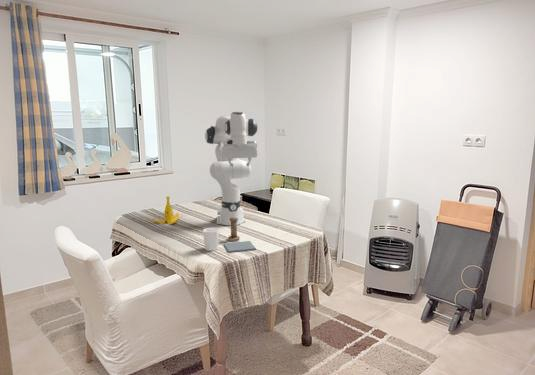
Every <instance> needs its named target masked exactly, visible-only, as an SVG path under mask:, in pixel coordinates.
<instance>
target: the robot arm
mask: <svg viewBox="0 0 535 375" xmlns="http://www.w3.org/2000/svg"><path fill="white" fill-rule="evenodd" d="M256 133H258V123H257V121H256V120H255V119H253V118H246V114H245V112H243V111H242V112H241V111H233V112H232V111H231V113H230V116H229V115H221V116H219V117H218V118H216V121H215V126H213V125H211V126H210V127H209V128H207V129H206V130H205V133H204V139H205V141H206V143H207V144H210V145H216V147H215V149H214V151H215V152H214V154H215V158H216V160H217V161H216V162H212V163H211V165H210V166H209V173H210V176H211V177H212V178H213V180H216V182H217V183H218V184H219V186H220V188H221V197H222V200H221V207H220V209H219V210H218V211H217V216H216V225H223V226H231V221H230V218H232V217H236V218H238V221H237V226H238V225H242V224H243V223H246V222H247V220H246V219H245V218H244V217H245V216H244V208H242V200H241V189H240V187H239V186H238V185H236V184H235V183H232V182H231V180H232V179H236V180H237V179H244V178H247V177H249V176H251V173H252V166H251V161H252V158H254V159H255V158H257V157H258V150H257V148H258V143H257V141H254V140H251V141H249V140H248V137H254V136H255V135H256ZM242 159H247V160H248V161H246V160H242Z"/></svg>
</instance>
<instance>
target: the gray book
mask: <svg viewBox="0 0 535 375" xmlns="http://www.w3.org/2000/svg"><path fill="white" fill-rule="evenodd" d="M223 246H224V248H225V249H226V251H227V252H228V253H238V252H246V251H248V252H249V251H256V250H257V248H256V247H255V245H254V244H253V243H252V242H251V241H250V240H245V241H233V242H226V243H223Z"/></svg>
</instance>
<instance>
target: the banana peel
mask: <svg viewBox="0 0 535 375" xmlns="http://www.w3.org/2000/svg"><path fill="white" fill-rule="evenodd" d="M163 216H164V217H163V219H156V218H154V217H151V220H153V221H154V222H156V223H159V224H165V223H167V225H174V224H178V222H179V220H178V218H179V212H177V213H176V214H175V215H174V212H173V208H172V205H171V203H170V196H168V195H167V196H166V205H165V207H164V214H163Z"/></svg>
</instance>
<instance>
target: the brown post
mask: <svg viewBox="0 0 535 375" xmlns="http://www.w3.org/2000/svg"><path fill="white" fill-rule="evenodd" d="M230 221H231V225H230V235H228V241H229V242H240V236H239V235H238V231H237V230H238V225H237V221H238V218H236V217H232V218H230Z"/></svg>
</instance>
